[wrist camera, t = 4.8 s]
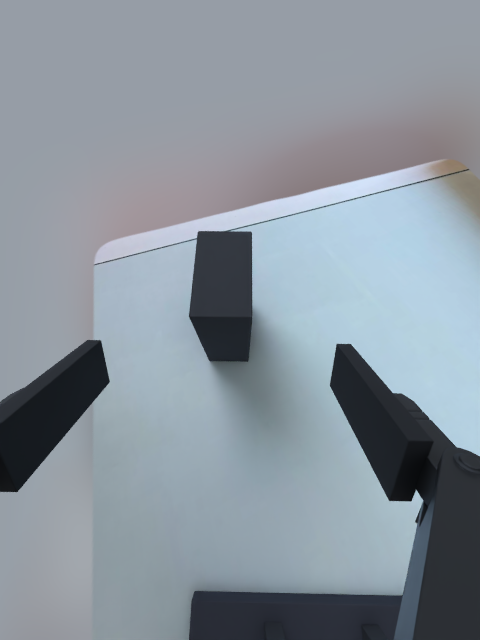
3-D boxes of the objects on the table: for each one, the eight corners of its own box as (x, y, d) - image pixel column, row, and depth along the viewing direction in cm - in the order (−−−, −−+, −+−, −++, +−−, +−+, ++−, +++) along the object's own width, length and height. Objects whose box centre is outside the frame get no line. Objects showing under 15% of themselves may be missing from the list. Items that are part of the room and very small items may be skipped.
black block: (209, 361, 26) (188, 316, 16) (213, 300, 29) (197, 230, 19) (248, 361, 26) (252, 317, 16) (248, 301, 29) (251, 231, 19)
